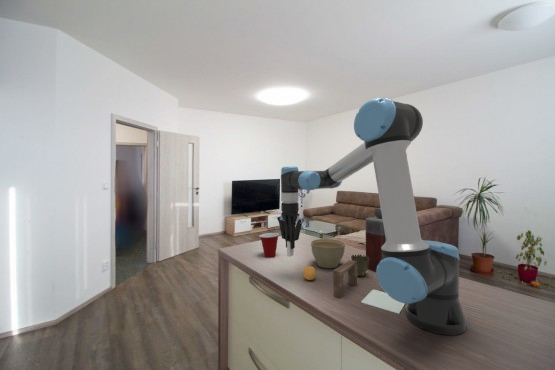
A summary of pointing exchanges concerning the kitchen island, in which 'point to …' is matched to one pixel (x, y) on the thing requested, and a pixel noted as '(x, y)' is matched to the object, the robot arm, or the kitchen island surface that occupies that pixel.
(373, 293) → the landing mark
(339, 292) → the bridge
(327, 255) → the planter bowl
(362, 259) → the green lump
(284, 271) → the kitchen island surface
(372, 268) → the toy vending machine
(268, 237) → the plastic cup
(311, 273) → the ball
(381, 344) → the kitchen island surface
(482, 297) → the kitchen island surface
